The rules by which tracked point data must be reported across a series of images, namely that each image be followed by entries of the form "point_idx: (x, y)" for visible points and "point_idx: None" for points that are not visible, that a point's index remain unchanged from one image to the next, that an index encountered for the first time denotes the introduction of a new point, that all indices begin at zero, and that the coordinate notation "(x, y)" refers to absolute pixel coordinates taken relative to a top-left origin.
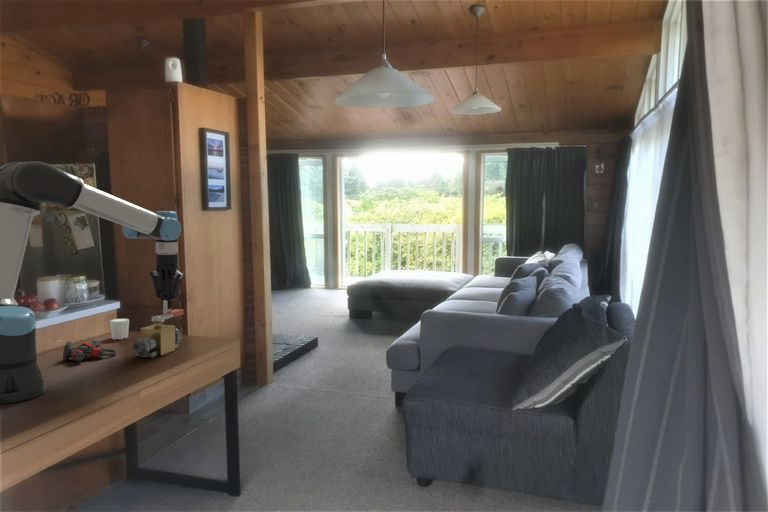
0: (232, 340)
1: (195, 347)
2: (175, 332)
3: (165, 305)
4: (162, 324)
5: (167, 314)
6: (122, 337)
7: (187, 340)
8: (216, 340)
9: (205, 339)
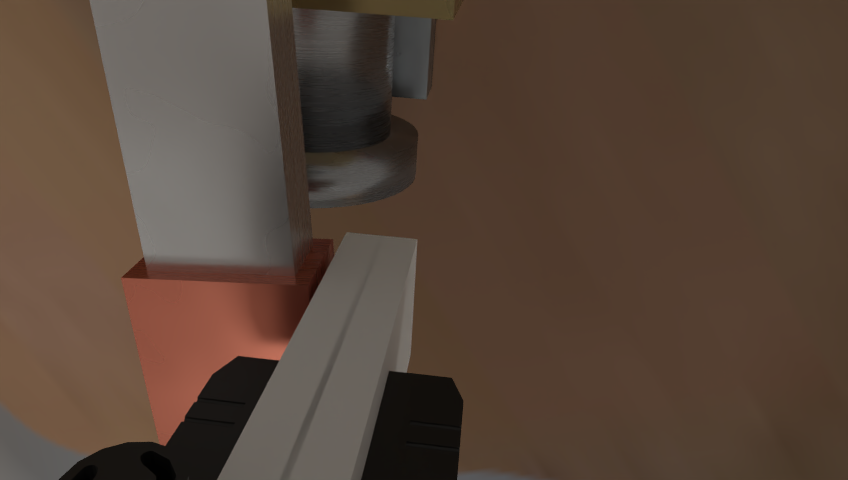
0: (9, 406)
1: None
2: None
3: (303, 387)
4: (300, 3)
5: (181, 129)
6: None
7: None
8: (122, 385)
9: None
